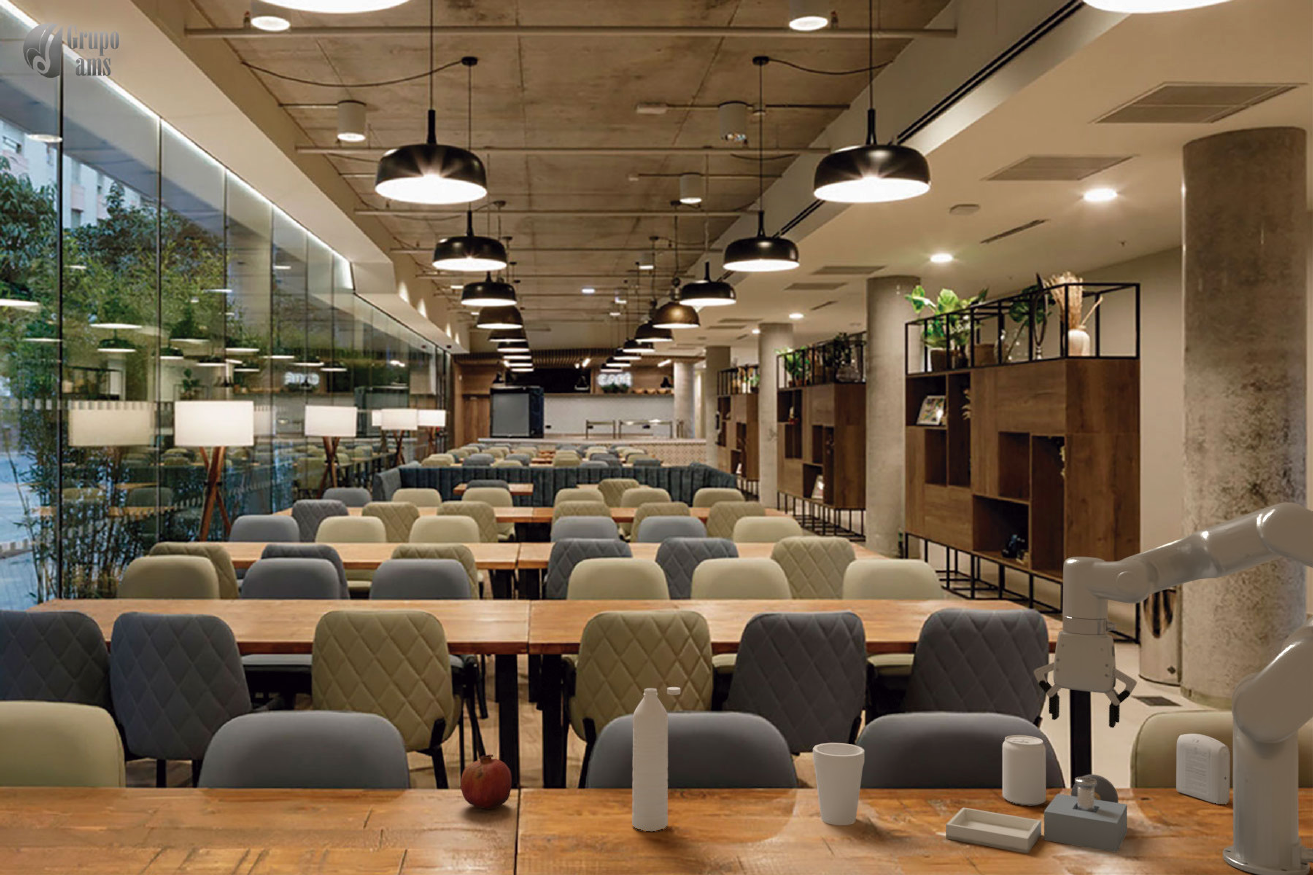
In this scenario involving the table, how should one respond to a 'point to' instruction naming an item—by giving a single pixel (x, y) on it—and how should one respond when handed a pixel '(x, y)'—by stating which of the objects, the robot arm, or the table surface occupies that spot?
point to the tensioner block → (1087, 819)
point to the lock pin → (1086, 793)
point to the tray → (994, 830)
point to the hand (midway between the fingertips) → (1083, 722)
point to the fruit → (486, 783)
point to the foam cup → (838, 781)
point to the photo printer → (1203, 768)
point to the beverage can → (1024, 770)
